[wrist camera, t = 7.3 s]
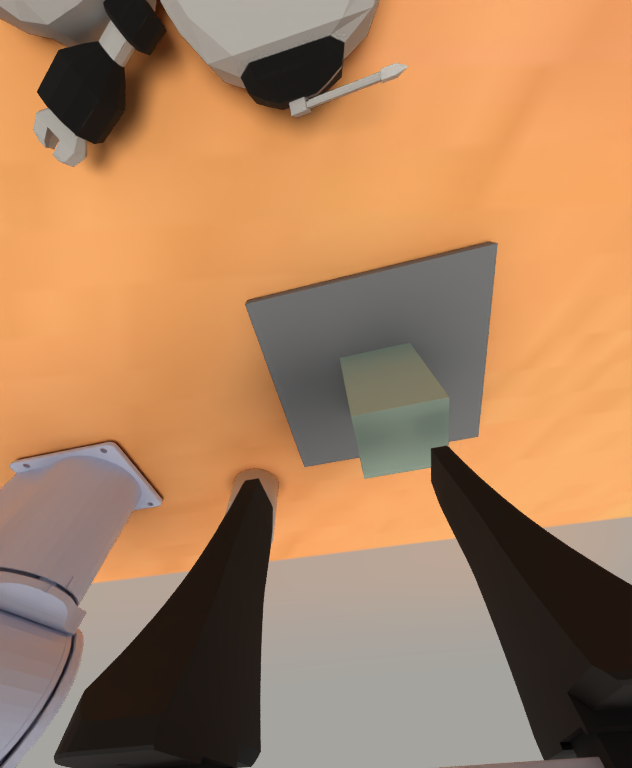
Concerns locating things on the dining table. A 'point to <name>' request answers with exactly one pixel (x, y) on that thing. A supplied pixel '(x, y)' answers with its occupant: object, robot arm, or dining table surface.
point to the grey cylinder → (267, 482)
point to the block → (395, 409)
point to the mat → (377, 341)
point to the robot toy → (206, 36)
